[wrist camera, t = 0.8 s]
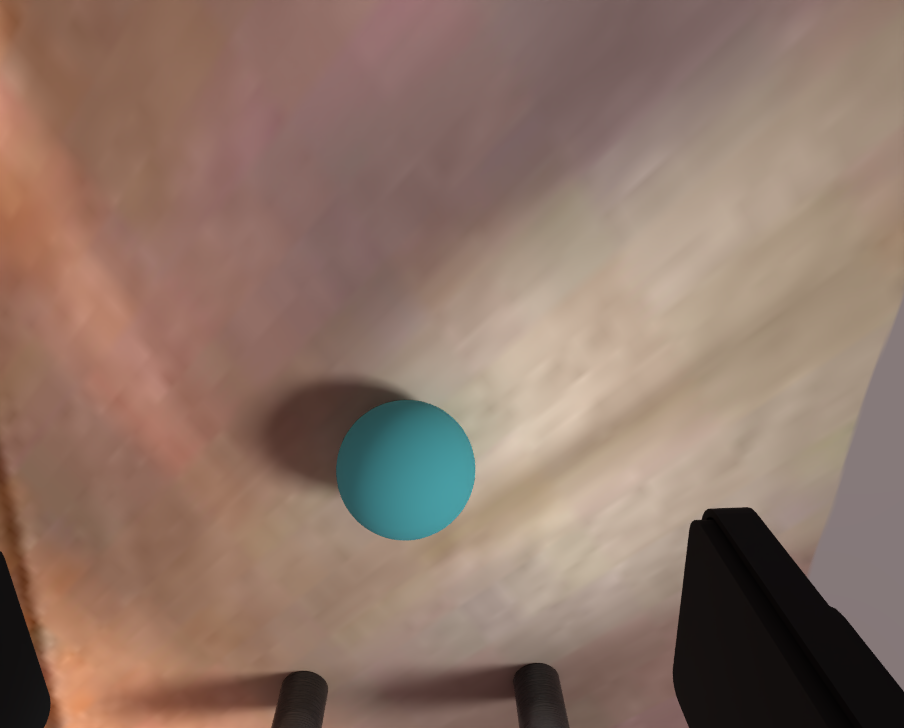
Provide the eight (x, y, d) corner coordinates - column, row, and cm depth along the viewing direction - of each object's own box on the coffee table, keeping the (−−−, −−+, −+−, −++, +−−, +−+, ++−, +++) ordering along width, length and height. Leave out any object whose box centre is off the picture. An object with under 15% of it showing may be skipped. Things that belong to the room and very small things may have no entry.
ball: (340, 379, 31) (319, 444, 25) (471, 375, 31) (479, 440, 25) (350, 491, 33) (333, 573, 28) (472, 487, 33) (479, 568, 28)
